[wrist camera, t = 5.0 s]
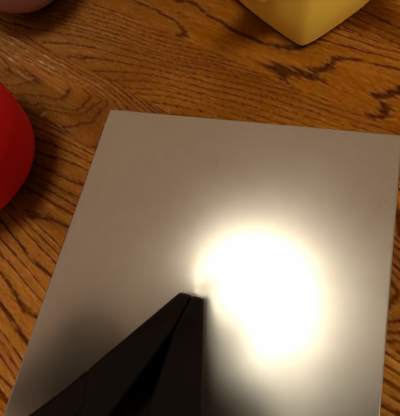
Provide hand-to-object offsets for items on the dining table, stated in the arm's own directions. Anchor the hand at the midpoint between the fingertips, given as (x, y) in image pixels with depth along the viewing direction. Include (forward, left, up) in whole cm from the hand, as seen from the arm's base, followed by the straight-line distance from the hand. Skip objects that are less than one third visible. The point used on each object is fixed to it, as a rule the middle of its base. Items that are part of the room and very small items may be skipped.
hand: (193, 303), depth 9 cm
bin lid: (0, 0, -1) cm, 1 cm away
